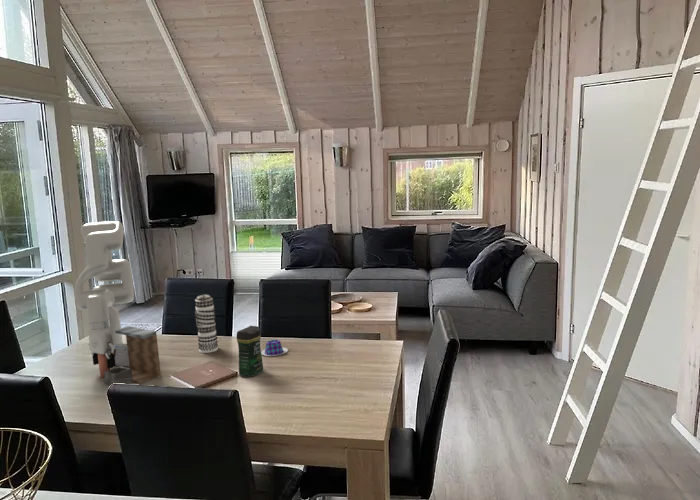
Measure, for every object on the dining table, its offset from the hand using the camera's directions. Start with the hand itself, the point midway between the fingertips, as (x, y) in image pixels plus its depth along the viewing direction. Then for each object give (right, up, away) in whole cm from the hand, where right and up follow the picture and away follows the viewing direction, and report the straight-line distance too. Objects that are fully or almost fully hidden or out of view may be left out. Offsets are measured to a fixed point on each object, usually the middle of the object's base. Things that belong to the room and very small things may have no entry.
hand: (104, 365), depth 222 cm
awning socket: (+12, -4, -4) cm, 13 cm away
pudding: (+66, +1, +19) cm, 69 cm away
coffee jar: (+60, -2, -5) cm, 61 cm away
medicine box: (+3, -3, +13) cm, 14 cm away
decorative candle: (+35, +1, +27) cm, 44 cm away
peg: (0, -4, +1) cm, 4 cm away
